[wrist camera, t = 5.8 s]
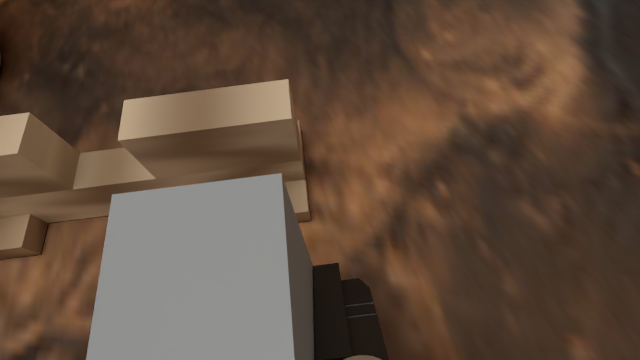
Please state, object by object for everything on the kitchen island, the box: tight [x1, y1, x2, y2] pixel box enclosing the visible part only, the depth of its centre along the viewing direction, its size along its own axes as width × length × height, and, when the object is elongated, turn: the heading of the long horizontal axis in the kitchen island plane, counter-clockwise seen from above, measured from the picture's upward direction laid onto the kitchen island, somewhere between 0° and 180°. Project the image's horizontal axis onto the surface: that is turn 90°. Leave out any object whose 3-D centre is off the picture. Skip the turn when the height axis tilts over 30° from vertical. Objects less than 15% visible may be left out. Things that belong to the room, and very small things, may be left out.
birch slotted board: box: [0, 79, 311, 260], centre depth 16 cm, size 16×5×6 cm, turn 96°
